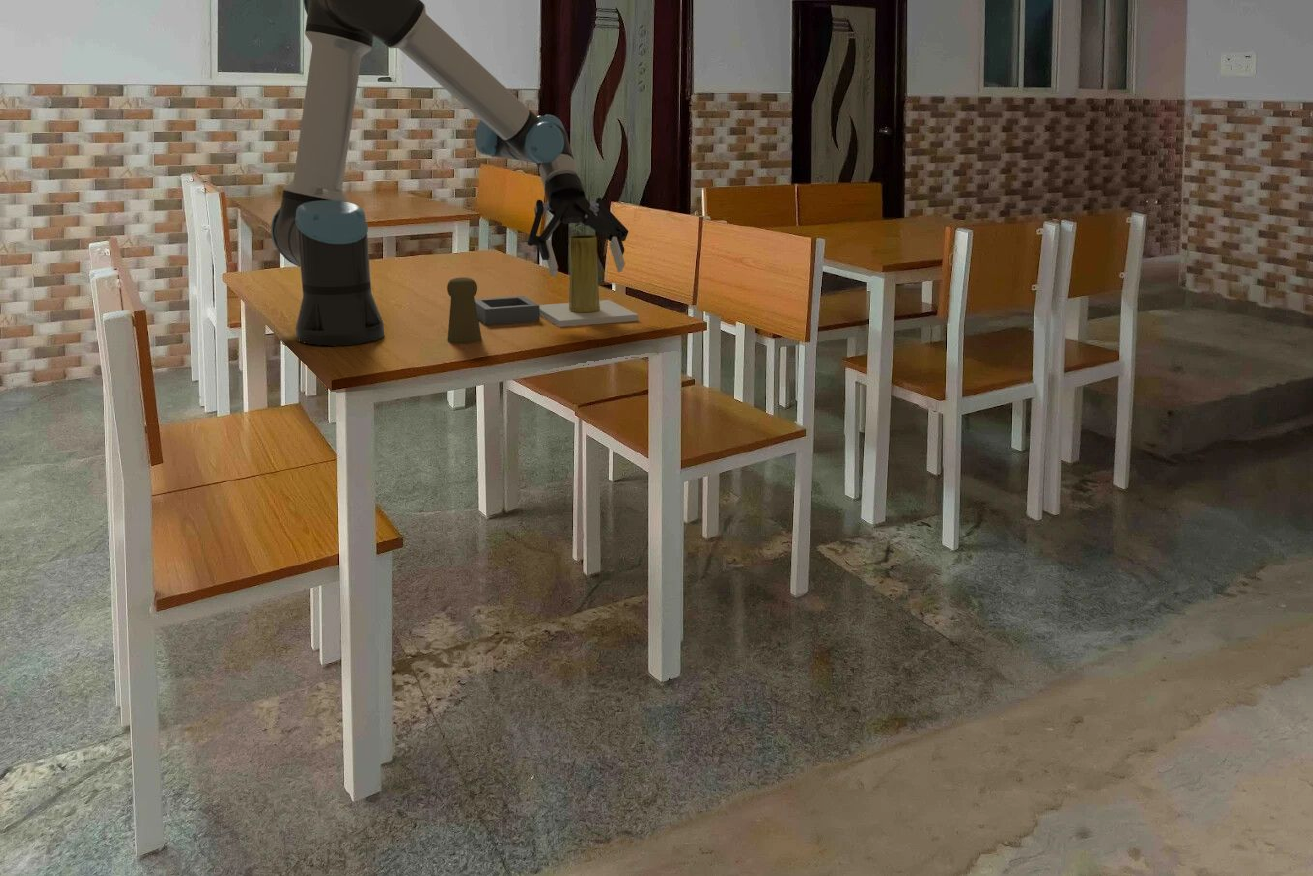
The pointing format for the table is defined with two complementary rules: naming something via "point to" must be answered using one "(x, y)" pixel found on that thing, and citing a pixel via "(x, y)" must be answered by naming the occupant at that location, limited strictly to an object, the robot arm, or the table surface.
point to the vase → (583, 274)
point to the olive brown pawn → (463, 311)
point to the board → (586, 314)
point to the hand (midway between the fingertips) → (588, 270)
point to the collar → (507, 310)
